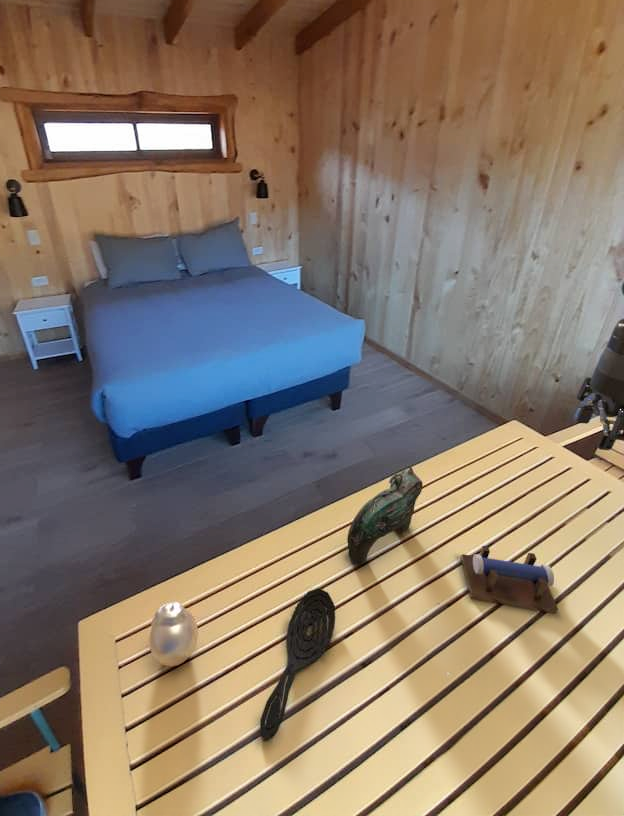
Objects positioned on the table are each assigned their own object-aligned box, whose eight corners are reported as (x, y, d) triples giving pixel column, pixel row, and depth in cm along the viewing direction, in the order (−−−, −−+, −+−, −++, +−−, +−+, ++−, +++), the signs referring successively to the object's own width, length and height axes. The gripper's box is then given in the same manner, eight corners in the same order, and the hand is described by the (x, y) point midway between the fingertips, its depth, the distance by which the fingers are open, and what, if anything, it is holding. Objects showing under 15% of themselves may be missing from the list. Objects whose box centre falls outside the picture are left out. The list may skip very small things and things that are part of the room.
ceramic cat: (399, 512, 102) (410, 453, 93) (420, 531, 97) (434, 470, 88) (340, 552, 93) (347, 490, 84) (360, 575, 88) (370, 512, 79)
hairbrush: (241, 715, 65) (306, 577, 83) (242, 724, 67) (305, 587, 85) (286, 750, 61) (343, 598, 80) (286, 759, 63) (342, 608, 81)
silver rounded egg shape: (203, 619, 80) (198, 589, 76) (196, 675, 72) (190, 646, 68) (158, 619, 81) (151, 589, 76) (146, 676, 72) (137, 646, 68)
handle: (543, 570, 84) (549, 562, 82) (549, 588, 81) (556, 581, 79) (471, 558, 87) (476, 551, 84) (475, 576, 84) (479, 569, 82)
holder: (537, 570, 88) (547, 550, 85) (556, 613, 80) (567, 593, 77) (460, 558, 91) (466, 538, 88) (470, 598, 83) (477, 578, 80)
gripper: (668, 393, 71) (632, 461, 79) (621, 354, 84) (594, 416, 91) (620, 389, 73) (589, 456, 80) (581, 351, 85) (557, 412, 92)
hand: (591, 434), depth 86 cm, fingers open, 8 cm apart
